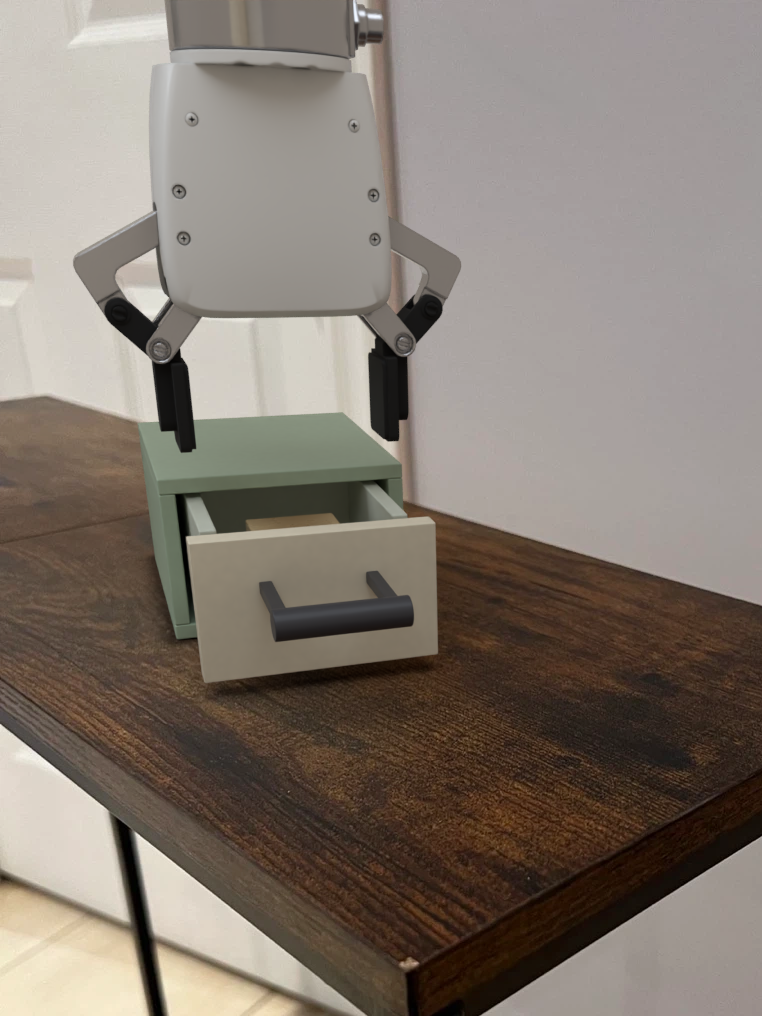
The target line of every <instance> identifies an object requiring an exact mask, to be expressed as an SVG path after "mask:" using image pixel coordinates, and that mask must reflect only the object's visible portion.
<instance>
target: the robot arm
mask: <svg viewBox="0 0 762 1016" xmlns="http://www.w3.org/2000/svg"><path fill="white" fill-rule="evenodd" d="M164 9H165V20H166V30H167V40H168V49H169V51H170V52H169V61H170V62H165V63H157V64H153V65H152V66H151V75H150V85H149V104H148V109H149V110H148V149H149V150H148V151H149V154H148V155H149V173H150V174H149V175H150V193H151V206H152V207H151V209H152V211H150V212H147V213H146V214H144V215H143V216H140V217H139V218H137V219H135V220H134V221H132V222H130V223H129V224H127V225H125V226H123V227H121V228H119V229H117V230H116V231H114V232H112V233H110V234H108V235H107V236H105V237H103V238H102V239H100V240H97V241H96V242H94V243H93V244H91V245H89V246H88V247H85V248H84V249H82V250H80V251H79V252H77V253H76V254H75V255H74V257H73V259H72V267H73V269H74V272H75V273H76V275H77V277H78V278H79V279H80V281H81V282H82V284H83V285H84V287H85V288H86V290H87V291H88V293H89V295H90V296H91V297H92V299H93V301H94V302H95V303H96V305H97V306H98V308H99V309H100V311H101V313H102V314H103V316H104V317H105V319H106V321H107V322H108V323H109V324H110V325H111V326H112V327H113V328H115V330H117V331H118V332H119V333H120V334H122V335H123V336H124V337H125V338H126V339H127V340H129V342H130V343H132V344H133V345H134V346H135V347H137V348H138V349H139V350H140V351H141V352H143V354H145V355H146V356H147V357H148V358H149V359H150V361H151V369H152V375H153V385H154V393H155V401H156V402H155V403H156V409H157V419H158V422H159V426H160V430H161V432H167V431H174V434H175V440H176V443H177V445H178V448H179V450H180V452H181V453H189V452H192V449H196V439H195V429H194V420H195V419H194V411H193V401H192V391H191V382H190V373H189V366H188V364H187V362H186V361H185V359H184V357H182V350H181V347H182V346H183V345H184V344H185V341H186V340H187V339H188V338H189V336H190V335H191V334H192V332H193V330H194V329H195V328H196V326H197V325H198V324H199V322H200V321H201V320H202V318H206V319H207V318H208V319H281V318H282V319H284V318H334V317H335V318H336V317H355V316H356V317H357V318H358V319H359V320H360V321H361V322H362V324H363V326H365V327H366V329H367V330H368V331H369V332H370V333H371V335H372V336H373V337H374V348H373V347H371V349H370V351H369V352H368V353H367V365H368V366H367V369H368V390H369V391H368V392H369V393H368V394H369V395H368V397H369V418H370V419H369V420H370V421H369V422H370V428H371V430H372V431H374V433H376V434H377V435H378V436H379V437H380V438H381V439H383V440H385V441H386V442H387V443H388V442H399V441H400V421H407V420H408V418H409V414H410V413H409V410H410V409H409V370H408V369H409V366H408V365H409V364H408V363H409V362H408V357H409V356H411V355H412V354H413V353H415V351H416V348H417V344H418V343H419V342H420V341H421V339H422V338H423V337H424V336H425V335H426V334H427V333H428V332H429V330H430V329H432V327H433V326H434V325H435V324H436V323H437V321H439V319H440V318H441V317H442V315H443V311H444V308H443V307H444V305H445V303H446V301H447V300H448V298H449V296H450V294H451V292H452V291H453V287H454V285H455V283H456V281H457V278H458V276H459V275H460V272H461V269H462V261H461V259H460V258H459V257H458V255H456V254H454V253H453V252H451V251H449V250H447V249H446V248H444V247H442V246H441V245H439V244H437V243H436V242H434V241H432V240H430V239H429V238H427V237H425V236H423V234H420V233H418V232H417V231H415V230H413V229H411V228H410V227H408V226H406V225H404V224H403V223H401V222H400V221H398V220H396V219H394V218H392V217H391V216H389V211H388V202H387V201H388V200H387V191H386V184H385V175H384V168H383V167H384V165H383V159H382V153H381V145H380V139H379V133H378V126H377V121H376V115H375V109H374V104H373V100H372V95H371V90H370V86H369V82H368V78H367V74H365V73H361V72H353V71H352V67H353V66H352V60H351V59H354V58H356V51H358V50H359V48H365V47H366V45H380V46H381V45H382V43H383V41H384V33H385V23H384V22H385V21H384V14H383V12H382V10H381V9H379V8H368V7H366V6H365V4H362V3H358V2H357V0H164ZM154 249H155V256H156V265H157V271H158V278H159V284H160V286H161V289H162V292H163V293H164V295H165V296H166V297H167V300H166V302H164V304H163V306H162V307H161V308H160V310H159V311H158V313H156V315H155V316H154V318H153V320H151V319H150V318H148V316H147V315H145V314H144V313H143V312H142V311H141V310H139V309H138V307H136V306H135V305H134V304H133V303H132V302H130V301H129V300H128V298H127V297H126V295H125V293H124V292H123V291H122V289H121V287H120V285H119V284H118V283H117V281H116V274H117V272H118V271H119V270H120V269H121V268H122V267H124V266H126V265H128V264H130V263H132V262H133V261H135V260H137V259H138V258H140V257H142V256H144V255H146V254H148V253H149V252H151V251H152V250H154ZM392 253H394V254H397V255H398V256H399V257H402V258H403V259H405V260H407V261H409V262H411V263H412V264H414V265H416V266H417V267H418V268H419V270H420V271H421V278H420V281H419V283H418V287H417V290H416V291H415V293H414V294H413V295H412V296H411V298H410V299H409V300H407V302H406V303H405V304H403V305H404V306H403V307H402V308H400V310H398V312H397V313H396V312H395V311H394V310H393V308H392V307H391V306H390V305H389V304H388V301H389V299H390V296H391V291H392V278H393V277H392V276H393V274H392V273H393V272H392Z"/></svg>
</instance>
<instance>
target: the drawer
mask: <svg viewBox="0 0 762 1016" xmlns="http://www.w3.org/2000/svg"><path fill="white" fill-rule="evenodd" d="M179 501H180V509H181V518H182V526H183V535H184V543H185V552H186V560H187V569H188V577H189V585H190V588H191V591H192V594H193V603H194V611H195V620H196V628H197V637H196V638H197V644H198V645H197V646H198V652H199V662H200V670H201V675H202V679H203V683H204V684H211V683H219V682H228V681H235V680H244V679H250V678H259V677H266V676H274V675H275V676H276V675H283V674H290V673H300V672H307V671H314V670H315V671H316V670H324V669H331V668H339V667H349V666H354V665H355V666H356V665H363V664H370V663H379V662H387V661H388V662H389V661H395V660H402V659H404V660H405V659H410V658H420V657H425V656H426V657H427V656H434V655H438V654H439V631H438V630H439V629H438V626H439V625H438V581H437V580H438V579H437V578H438V575H437V532H436V531H437V529H436V528H437V527H436V526H437V525H436V522H435V521H434V520H433V519H432V518H431V517H430V516H415V517H409V516H408V513H406V512H405V511H404V509H403V510H402V509H401V508H400V507H399V506H398V505H397V504H396V503H395V502H394V501H393V500H392V499H391V498H390V497H389V496H388V495H387V494H386V493H385V492H384V491H383V490H382V489H381V488H380V487H379V486H378V485H377V484H376V483H375V482H374V481H373V480H366V481H352V482H338V483H323V484H309V485H295V486H281V487H267V488H253V489H239V490H225V491H211V492H197V493H183V494H179ZM324 513H332V514H333V515H334V516H335V518H336V519H337V520H338V521H339V523H340V524H331V525H319V526H307V527H295V528H283V529H271V530H259V531H247V532H246V523H245V521H246V520H249V519H262V518H274V517H287V516H299V515H312V514H324Z"/></svg>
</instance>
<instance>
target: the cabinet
mask: <svg viewBox="0 0 762 1016" xmlns="http://www.w3.org/2000/svg"><path fill="white" fill-rule="evenodd" d="M194 429H195V439H196V449H192V452H189V453H181V452H180V450H179V448H178V445H177V443H176V440H175V434H174V431H167V432H161V430H160V426H159V421H144V422H141V421H140V422H138V423H137V430H138V437H139V445H140V446H139V447H140V455H141V461H142V462H141V463H142V469H143V476H144V483H145V484H144V485H145V491H146V493H145V494H146V498H147V507H148V514H149V524H150V530H151V538H152V545H153V554H154V559H155V564H156V566H157V571H158V574H159V575H158V576H159V578H160V582H161V585H162V586H161V587H162V589H163V593H164V597H165V601H166V604H167V608H168V612H169V615H170V619H171V623H172V627H173V631H174V635H175V639H176V640H186V639H194V638H198V637H197V628H196V620H195V611H194V603H193V594H192V591H191V588H190V585H189V577H188V569H187V560H186V552H185V543H184V535H183V526H182V518H181V509H180V501H179V494H183V493H197V492H211V491H225V490H239V489H253V488H267V487H281V486H295V485H309V484H323V483H338V482H352V481H366V480H373V481H374V482H375V483H376V484H377V485H378V486H379V487H380V488H381V489H382V490H383V491H384V492H385V493H386V494H387V495H388V496H389V497H390V498H391V499H392V500H393V501H394V502H395V503H396V504H397V505H398V506H399V507H400V508H401V509H402V510H403V511H404V491H403V490H404V487H403V485H404V484H403V464H402V462H400V461H399V460H398V459H397V458H396V457H394V455H392V454H391V453H390V452H389V451H388V450H387V449H386V448H384V447H383V446H382V445H381V444H379V442H378V441H377V440H375V439H374V438H373V437H372V436H370V435H369V434H368V433H367V432H366V431H365V430H364V429H362V427H360V426H359V425H358V424H357V423H356V422H354V421H353V419H351V418H350V417H348V415H347V414H345V413H344V412H321V413H303V414H302V413H301V414H300V413H299V414H284V415H283V414H282V415H281V414H279V415H264V416H263V415H261V416H242V417H223V418H222V417H220V418H207V419H206V418H203V419H194Z"/></svg>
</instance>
